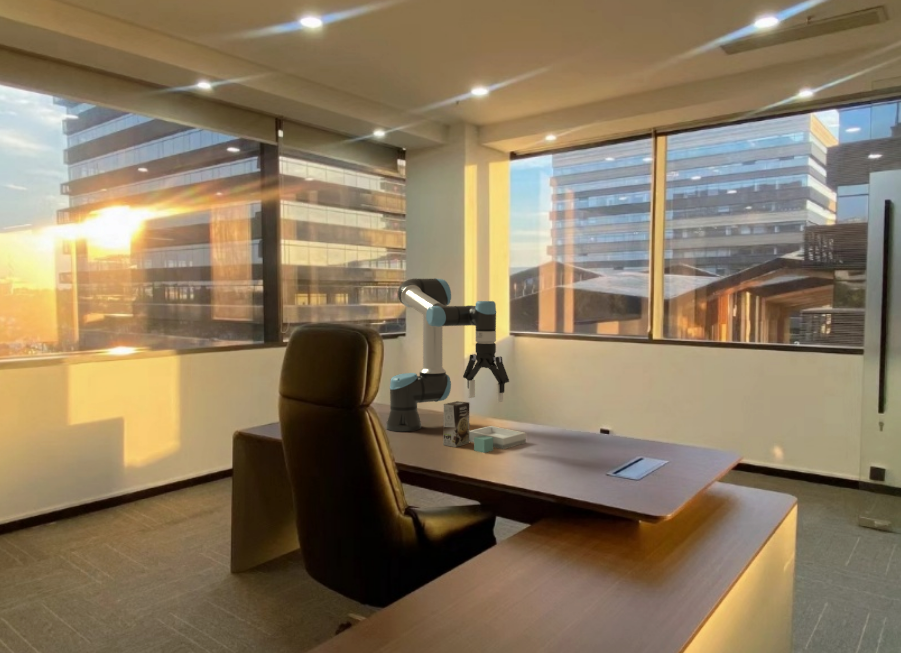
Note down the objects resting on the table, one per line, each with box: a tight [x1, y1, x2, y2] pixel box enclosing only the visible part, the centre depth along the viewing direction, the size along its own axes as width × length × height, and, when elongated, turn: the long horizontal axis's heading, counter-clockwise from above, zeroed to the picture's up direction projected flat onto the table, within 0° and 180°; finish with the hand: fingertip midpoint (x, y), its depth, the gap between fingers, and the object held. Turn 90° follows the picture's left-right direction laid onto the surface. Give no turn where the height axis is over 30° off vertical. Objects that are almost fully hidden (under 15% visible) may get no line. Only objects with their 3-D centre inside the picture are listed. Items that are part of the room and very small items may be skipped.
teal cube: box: [473, 435, 494, 454], centre depth 233 cm, size 5×5×5 cm
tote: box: [469, 425, 527, 450], centre depth 246 cm, size 18×14×4 cm
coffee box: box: [442, 400, 470, 448], centre depth 243 cm, size 9×6×16 cm
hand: (485, 399), depth 233 cm, fingers open, 13 cm apart
